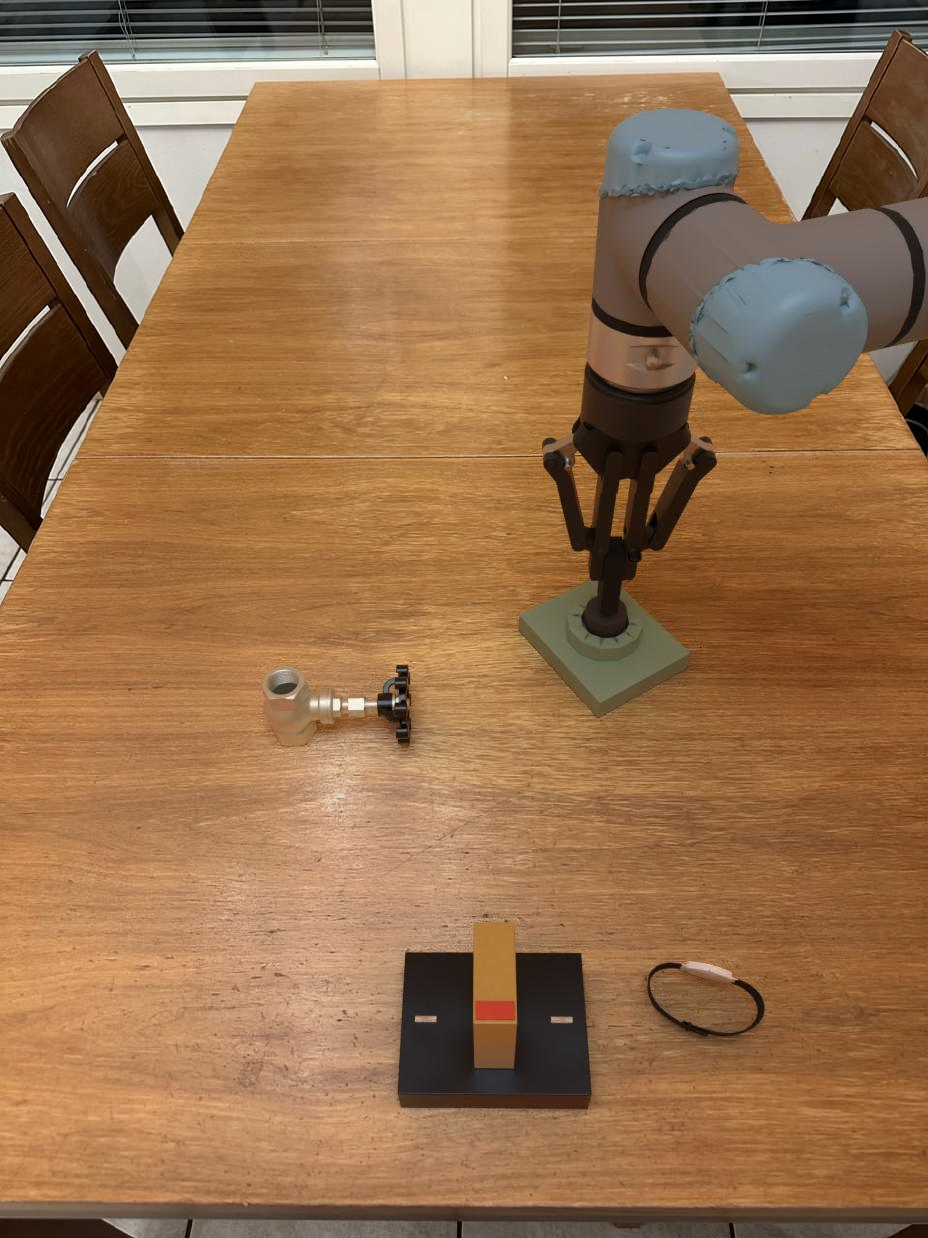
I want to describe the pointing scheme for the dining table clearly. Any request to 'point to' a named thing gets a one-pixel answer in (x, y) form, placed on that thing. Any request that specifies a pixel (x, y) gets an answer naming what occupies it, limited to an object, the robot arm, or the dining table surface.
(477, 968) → the lock knob
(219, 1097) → the dining table surface
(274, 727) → the valve
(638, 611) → the doorbell
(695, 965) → the watch
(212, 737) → the dining table surface
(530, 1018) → the plate
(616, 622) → the bell button
